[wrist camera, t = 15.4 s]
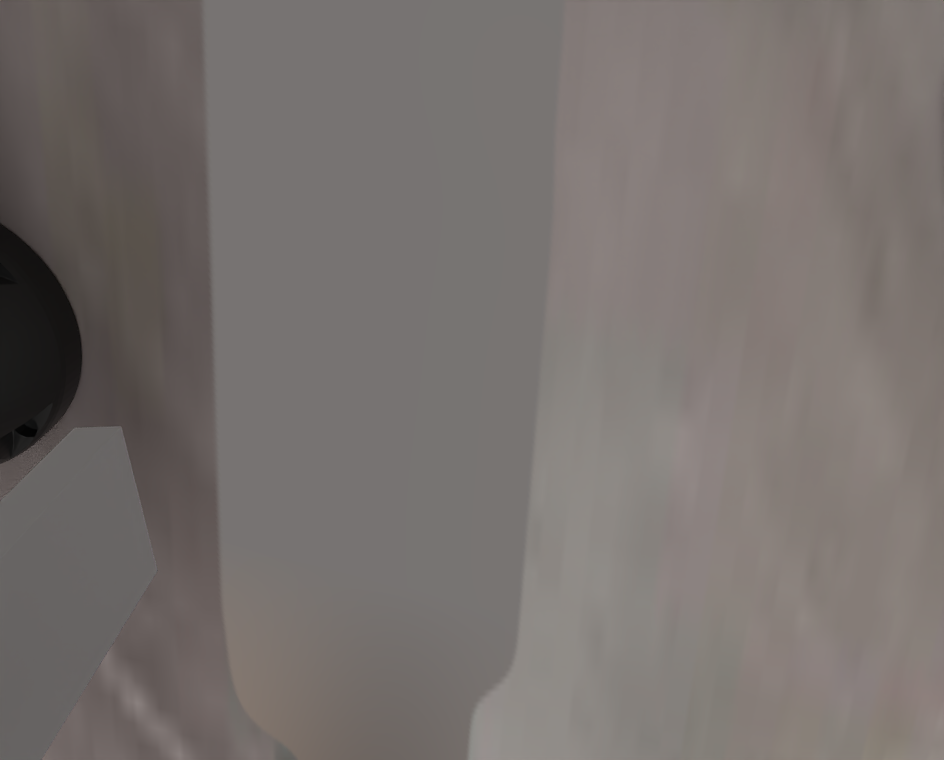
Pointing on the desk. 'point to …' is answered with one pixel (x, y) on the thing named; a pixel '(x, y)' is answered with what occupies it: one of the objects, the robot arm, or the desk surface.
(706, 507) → the desk surface
